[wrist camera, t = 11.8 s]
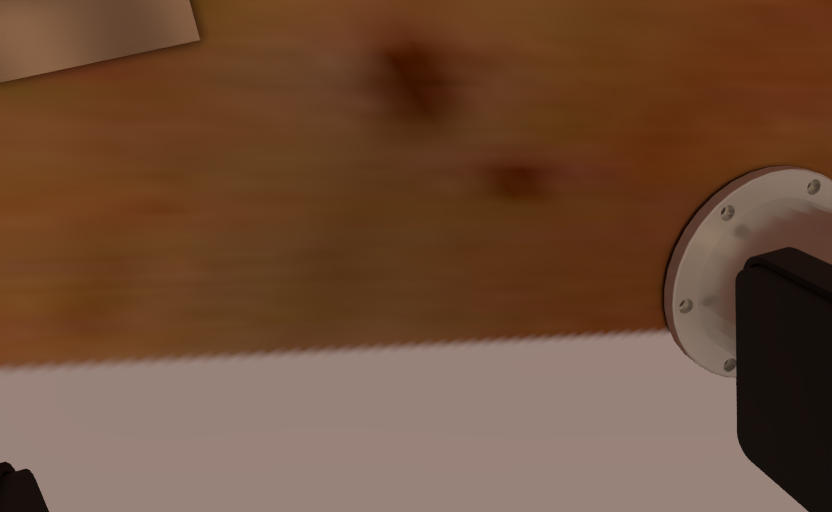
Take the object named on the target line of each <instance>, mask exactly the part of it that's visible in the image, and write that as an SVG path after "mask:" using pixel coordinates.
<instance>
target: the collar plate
mask: <svg viewBox="0 0 832 512" xmlns="http://www.w3.org/2000/svg"><path fill="white" fill-rule="evenodd" d="M198 40H200V37H199V34H198V30H197V26H196V23H195V19H194V16H193V12H192V8H191V5H190V1H189V0H0V82H5V81H10V80H15V79H19V78H24V77H29V76H33V75H38V74H43V73H48V72H52V71H57V70H62V69H66V68H71V67H76V66H80V65H85V64H90V63H95V62H99V61H104V60H109V59H113V58H118V57H123V56H128V55H132V54H137V53H142V52H146V51H151V50H156V49H161V48H165V47H170V46H175V45H179V44H184V43H189V42H193V41H198Z"/></svg>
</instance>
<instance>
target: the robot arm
mask: <svg viewBox="0 0 832 512" xmlns="http://www.w3.org/2000/svg"><path fill="white" fill-rule="evenodd" d="M664 309H665V314H666V319H667V324H668V327H669V330H670V332H671V334H672V336H673V339H674V341H675V342H676V344H677V345H678V346H679V347H680V348H681V350H682V351H683V353H684V354H685V355H687V356H688V357H689V358H690V359H692V360H693V361H694V362H695V363H697V364H698V365H699V366H701V367H703V368H705V369H706V370H708V371H710V372H712V373H715V374H717V375H721V376H725V377H736V380H737V381H736V386H737V435H738V440H739V443H740V446H741V448H742V450H743V452H744V453H745V455H746V456H747V458H748V459H749V460H751V462H752V463H754V464H755V465H756V466H757V467H758V468H760V470H762V471H763V472H764V473H765V474H766V475H767V476H768V477H770V478H771V479H772V480H773V481H774V482H775V483H777V484H778V485H779V486H780V487H781V488H782V489H783V490H785V491H786V492H787V493H788V494H789V495H790V496H792V497H793V498H794V499H795V500H796V501H797V502H798V503H799V504H801V505H802V506H803V507H804V508H805V509H806V510H807V511H809V512H832V180H831V179H829V178H828V177H826V176H824V175H823V174H820V173H817V172H814V171H811V170H808V169H805V168H800V167H794V166H774V167H767V168H764V169H760V170H757V171H753V172H750V173H748V174H746V175H744V176H742V177H740V178H738V179H736V180H734V181H732V182H731V183H730V184H728V185H727V186H726V187H724V188H723V189H721V190H720V191H719V192H717V193H716V194H715V195H714V196H713V197H712V198H711V199H710V200H709V201H708V202H707V203H706V204H705V205H704V206H703V207H702V208H701V209H700V210H699V211H698V212H697V214H696V215H695V216H694V218H693V219H692V220H691V222H690V223H689V224H688V226H687V227H686V229H685V230H684V232H683V234H682V236H681V238H680V240H679V242H678V244H677V246H676V247H675V250H674V253H673V255H672V258H671V261H670V264H669V267H668V271H667V276H666V282H665V288H664ZM0 512H49V511H48V508H47V506H46V503H45V501H44V499H43V496H42V494H41V491H40V489H39V487H38V484H37V482H36V479H35V478H34V476H33V474H32V473H31V472H30V470H28V469H23V470H20V471H15V469H14V468H13V467H12V466H11V464H9V463H7V462H3V463H0Z"/></svg>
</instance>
